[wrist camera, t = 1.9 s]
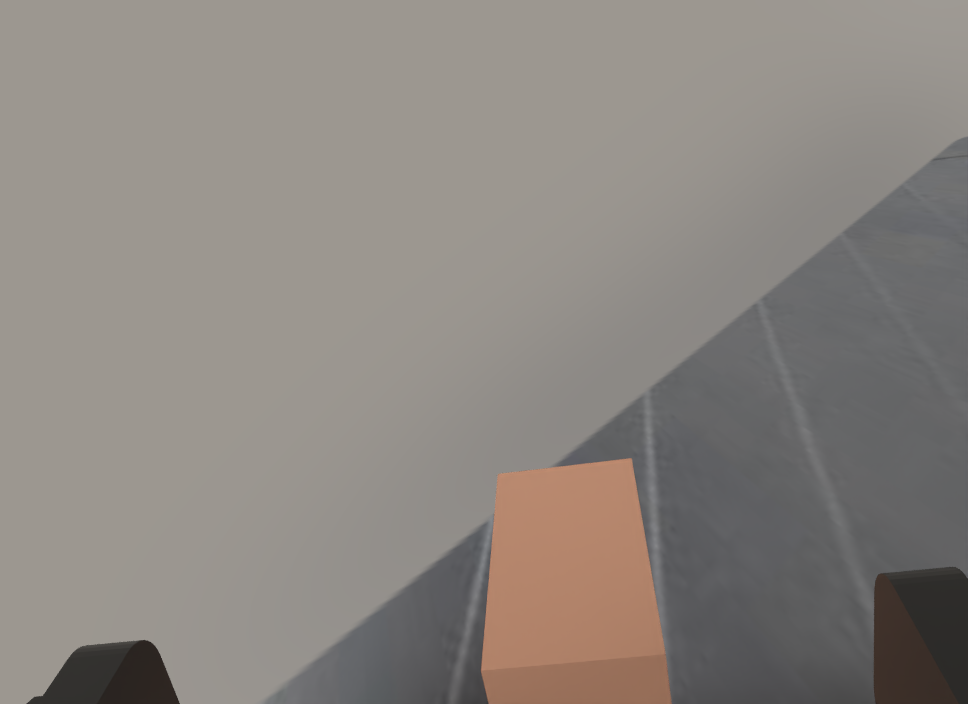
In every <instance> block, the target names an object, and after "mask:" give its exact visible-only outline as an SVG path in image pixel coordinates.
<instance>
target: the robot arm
mask: <svg viewBox="0 0 968 704" xmlns="http://www.w3.org/2000/svg"><path fill="white" fill-rule="evenodd" d="M874 693H875V701H876V704H968V578H967V577H966V576H965V574H964V573H963V572H962V571H961V570H960V569H958V568H956V567H946V568H935V569H925V570H914V571H903V572H893V573H882V574H879V575H878V576H877V578H876V582H875V592H874ZM27 704H180V703H179V701H178V698H177V696H176V693H175V691H174V688H173V686H172V683H171V681H170V678H169V676H168V673H167V671H166V668H165V666H164V663H163V661H162V658H161V656H160V654H159V652H158V650H157V648H156V647H155V646H154V645H153V644H152V643H151V642H149V641H146V640H140V641H131V642H130V641H129V642H119V643H108V644H97V645H87V646H82V647H80V648H78V649H77V650H76V651H74V652H73V653H72V654H71V656H70V657H69V659H68V660H67V661H66V663H65V664H64V666H63V667H62V669H61V670H60V671H59V673H58V674H57V676H56V677H55V679H54V680H53V682H52V683H51V685H50V686H49V688H48V689H47V691H46V692H45V694H44V695H43V696H39V697H34V698H33V699H31V700H30V701H29V702H28V703H27Z"/></svg>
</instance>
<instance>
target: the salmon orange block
mask: <svg viewBox="0 0 968 704" xmlns="http://www.w3.org/2000/svg"><path fill="white" fill-rule="evenodd" d="M481 673H482V677H483V681H484V686H485V690H486V694H487V699H488V703H489V704H672V703H671V695H670V687H669V678H668V670H667V662H666V654H665V648H664V642H663V636H662V631H661V625H660V619H659V614H658V608H657V602H656V596H655V591H654V585H653V579H652V573H651V568H650V562H649V556H648V550H647V545H646V539H645V533H644V527H643V522H642V516H641V510H640V504H639V499H638V493H637V487H636V481H635V476H634V470H633V464H632V458H629V459H621V460H612V461H604V462H596V463H587V464H579V465H570V466H562V467H553V468H545V469H536V470H529V471H519V472H511V473H502V474H498V479H497V491H496V504H495V514H494V526H493V537H492V549H491V561H490V572H489V584H488V596H487V607H486V619H485V630H484V642H483V654H482V665H481Z"/></svg>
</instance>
